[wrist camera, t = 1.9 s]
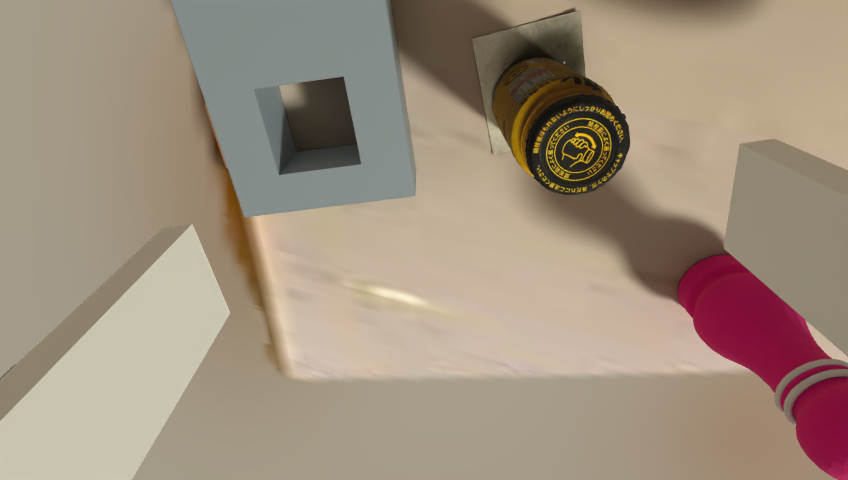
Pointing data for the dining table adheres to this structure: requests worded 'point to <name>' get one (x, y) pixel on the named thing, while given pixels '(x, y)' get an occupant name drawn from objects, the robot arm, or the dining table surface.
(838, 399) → the pepper mill
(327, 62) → the socket block
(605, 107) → the condiment
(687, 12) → the dining table surface
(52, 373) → the robot arm
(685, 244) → the dining table surface
